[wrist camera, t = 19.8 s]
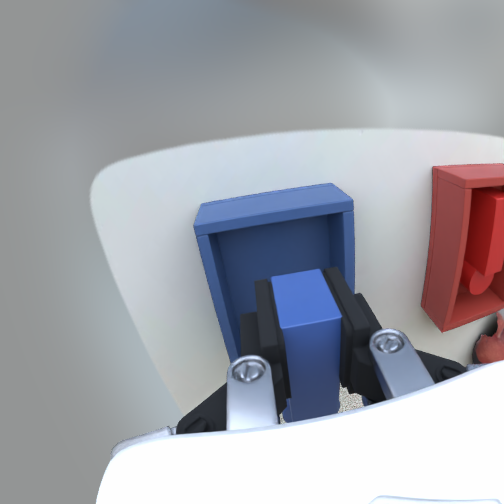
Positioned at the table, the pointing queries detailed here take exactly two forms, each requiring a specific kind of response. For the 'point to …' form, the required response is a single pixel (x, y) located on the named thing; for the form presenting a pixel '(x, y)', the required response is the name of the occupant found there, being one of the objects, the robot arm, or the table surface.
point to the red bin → (457, 247)
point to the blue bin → (271, 245)
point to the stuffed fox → (491, 344)
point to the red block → (483, 239)
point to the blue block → (309, 343)
